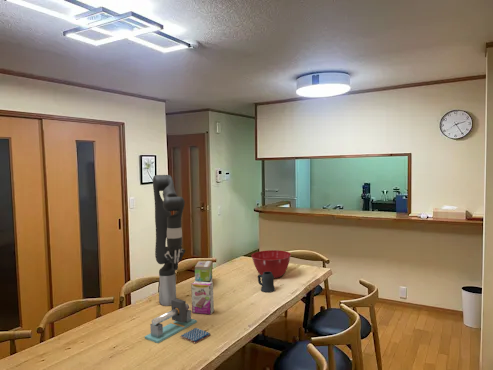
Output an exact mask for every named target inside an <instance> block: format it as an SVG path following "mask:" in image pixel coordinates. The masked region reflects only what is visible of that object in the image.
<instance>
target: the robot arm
mask: <svg viewBox="0 0 493 370" xmlns="http://www.w3.org/2000/svg"><path fill="white" fill-rule="evenodd" d="M173 179H174V178H173V177H172V176H171V175H170V174H159V175H158V174H156V175H154V176H153V177H152V185H153V186H152V187H153V188H152V189H153V197H154V198H153V199H154V222H155V248H154V251H155V253H154V255H155V260H156V262H157V264H159V265H163V266H161V268H160V269H159V271H158V276H159V278H158V279H159V287H158V303H159V304H160V305H161V306H163V307H164V306H165V307H167V306H171V300H173V299H175V298H176V299H177V285H176V279H177V278H176V271H178V269H179V262H180V261H182V259H183V257H184V255H185V252H186V249H184V248H183V247H182V245H183V231H182V218H183V212H184V208H185V199H184V197H183V196H178V194H177V191H176V190H175V184H174V180H173ZM160 192H162V196H161V193H160ZM175 211H176V212H175ZM172 212H175V213H174V214H172Z"/></svg>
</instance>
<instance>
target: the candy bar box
mask: <svg viewBox="0 0 493 370" xmlns="http://www.w3.org/2000/svg"><path fill="white" fill-rule="evenodd" d="M190 287H191V288H190V289H191V290H190V291H191V314H201V315H209V316H210V315H212V314H213V313H214V312H215V308H214V306H215V304H214V302H215V300H214V282H213V281H212V282H199V281H195V280H194V281H193V282H192V283H191V286H190Z"/></svg>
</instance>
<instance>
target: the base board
mask: <svg viewBox="0 0 493 370" xmlns="http://www.w3.org/2000/svg"><path fill="white" fill-rule="evenodd" d="M197 322H198V320H197V319H195V318H191V321H190V322H188V323H186V322H183V323H181V322H178V321H175V320H173V321H172V322H170V323H169V324H166V325H163V336H162V337H160V338H156V337H153V336H151V332H150V333H148V334H146V335H145V336H144V340H148V341H151V342H153V343H155V344H160V343H161V342H163V341H165V340H167V339H168V338H170V337H172V336H174V335H176V334H178V333H179V332H182V331H183V330H186V329H187V328H189V327H190V326H193V325H194V324H196V323H197Z"/></svg>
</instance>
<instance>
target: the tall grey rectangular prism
mask: <svg viewBox="0 0 493 370" xmlns="http://www.w3.org/2000/svg"><path fill="white" fill-rule="evenodd" d="M186 303H187V302H186V300H184V299H180V298H177V297H176V298H175V299H173V300H171V305H170V306H171V310H173V309H175V308H179V314H178V315H175V316H173V317H171V320H172V321H178V322H181V323H183V322H185V321H186Z"/></svg>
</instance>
